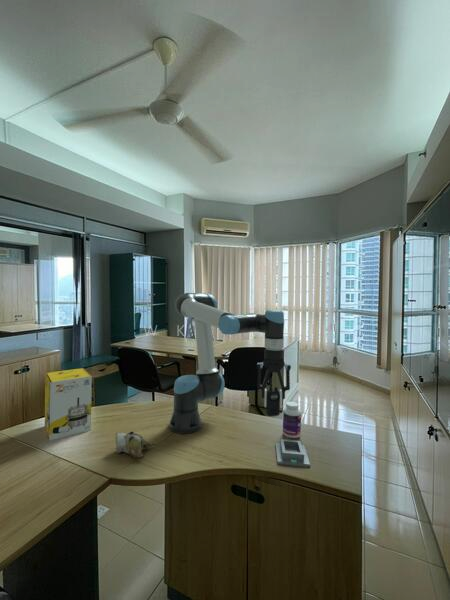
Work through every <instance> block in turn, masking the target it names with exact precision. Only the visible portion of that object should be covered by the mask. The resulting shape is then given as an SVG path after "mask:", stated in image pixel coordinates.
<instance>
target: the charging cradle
mask: <svg viewBox="0 0 450 600" xmlns="http://www.w3.org/2000/svg"><path fill="white" fill-rule="evenodd" d="M274 446H275V452H276V461H277V465H281V466H282V465H284V466H295V467H304V468H305V467H306V468H311V463H310V460H309V457H308V453H307V450H306V448H305V445H304V444H302V442H301V441H300V440H292V439H280V442H275V445H274Z"/></svg>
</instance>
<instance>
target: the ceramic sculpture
mask: <svg viewBox="0 0 450 600" xmlns="http://www.w3.org/2000/svg"><path fill="white" fill-rule="evenodd" d="M155 444H156V443H155V442H150V441H149V440H147V439H144V437H143V436H142V435H141V434H138V433H135V432H134V431H129V432H128V433H123V432H116V433H115V446H116V447H115V449H116V453H118V454H120V453H122V452H124V453H127V454H128V455H130V456H132V458H134V459H143V458H145V456H144V454H143V452H142V450H143V449H148V448H151V447H154V446H155Z"/></svg>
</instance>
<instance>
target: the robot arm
mask: <svg viewBox="0 0 450 600" xmlns="http://www.w3.org/2000/svg"><path fill="white" fill-rule="evenodd" d="M174 309H175V311H176V313H178V315H180V316H183V317H185V318H191V320H192V321H193V323H194V327H195V338H196V351H197V359H198V361H197V362H198V370H197V371H196V372H195V374H186V375H181V376H179V377H178V378H176V379H175V381H174V386H173V410H172V415H171V417H170V420H169V430H171V432H172V431H173V433H177V434H184V435H185V434H191V433H194V432H195V433H196V432H198V431H199V430H200V429H201V428H202V419H201V414H200V412H199V403H200V402H204V401H206V400H209V399H215V398H216V397H218V396H220V395H222V393H223V392H224V390H225V386H226V385H225V384H226V383H225V378H224V377H223V374H221V373H220V371H219V369H218V368H217V367H216V359H215V348H214V347H215V346H214V339H213V327H214V328H215V327H216V328H217V329H219V331H220V332H221V333H222V334H224V335H237V334H245V333H246V334H247V333H263V334H264V348H265V349H264V352H263V353H264V359H263V361H262V362H257V364H256V368H257V385H256V387H257V389H260V390H261V398H262V399H263V401H264V403H263V405H264V408H266V396H267V391H268V390H267V388H266V387H267V383H268V380H269V377H270V374H271V373H277V376H278V381H279V383H280V388H281V389H279V394H280V409H282V408H283V400H285V399H286V391H290V390H291V386H290V385H291V383H290V382H291V381H290V377H291V376H290V374H291V373H290V370H291V368H292V366H291V364H290V363H285V361H284V345H285V344H284V343H285V342H284V340H285V339H284V337H285V336H284V335H285V333H284V331H285V330H284V329H285V314H284V311H283V310H278V309H277V310H276V309H275V310H274V309H271V310H270V309H267V310H265V312H264V314H260V313H253V312H252V313H251V312H250V313H243V314H235V313H232V312H229V311H225V310H222V309H219V308H218V302H217V300H216V298H215V297H214V295H212V294H211V293H206V292H200V293H199V292H198V293H197V292H186V293H182V294H180V295H179V296H178V297H177V298H176V300H175V302H174ZM263 366H264V368H265V369H266V372H265V375H264V379H263V381H261V380H262V369H263ZM283 368H284V369H285V383H284V380H283V376H282V372H281V370H282V369H283ZM261 382H262V383H261ZM284 384H286V385H284Z"/></svg>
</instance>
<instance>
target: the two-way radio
mask: <svg viewBox="0 0 450 600" xmlns="http://www.w3.org/2000/svg"><path fill="white" fill-rule="evenodd" d="M265 408H266V416H269V417H276V416H277V417H278V416H280V410H281V408H280V390H279V389H278V386H274V389H273V379H272V377H270V378H269V389H268V390H267V396H266V407H265Z"/></svg>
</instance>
